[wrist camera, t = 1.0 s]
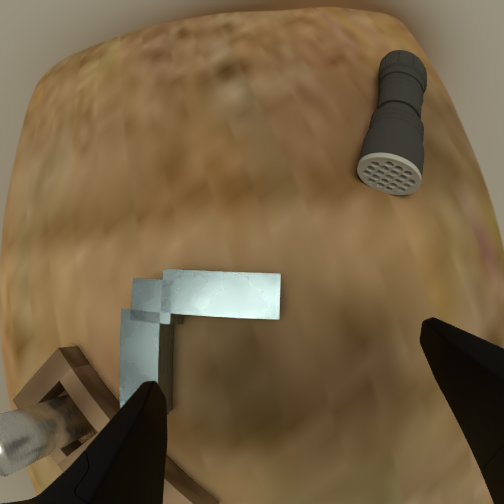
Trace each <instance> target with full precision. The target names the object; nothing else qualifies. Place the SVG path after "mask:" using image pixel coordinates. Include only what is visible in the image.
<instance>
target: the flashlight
mask: <svg viewBox="0 0 504 504" xmlns="http://www.w3.org/2000/svg"><path fill="white" fill-rule="evenodd" d="M378 74H379V82H380V88H379V96H380V97H379V103H378V108H377V110H376V111H375V112H374V113H373V115H372V117H371V122H370V127H369V132H368V134H367V135H366V137H365V139H364V142H363V147H362V151H361V155H360V160H359V164H358V168H357V172H358V175H359V177H360V178H361V180H362V181H363V182H364V183H366V184H367V185H368V186H370V187H372V188H375V189H377V190H380V191H382V192H385V193H387V194H392V195H407V194H411V193H414V192H415V191H417V190H418V189H419V188H420V186H421V180H422V171H423V163H424V149H423V144H422V142H423V135H424V133H423V132H424V127H423V123H422V121H421V106H422V103H423V94H424V92H425V90H426V86H427V73H426V68H425V67H424V65H423V63H422V62H421V60H420V59H419V58H418V57H417V56H416V55H414V54H412V53H410V52H407V51H403V50H396V51H392V52H390V53H388V54H387V55H386V56H385V57H384V58H383V59H382V60H381V63H380V67H379V73H378Z"/></svg>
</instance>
